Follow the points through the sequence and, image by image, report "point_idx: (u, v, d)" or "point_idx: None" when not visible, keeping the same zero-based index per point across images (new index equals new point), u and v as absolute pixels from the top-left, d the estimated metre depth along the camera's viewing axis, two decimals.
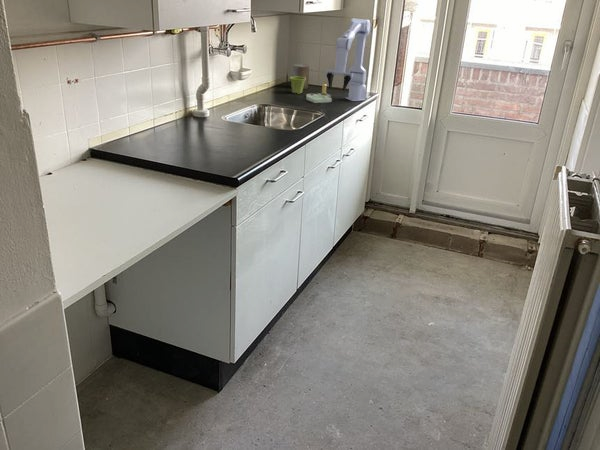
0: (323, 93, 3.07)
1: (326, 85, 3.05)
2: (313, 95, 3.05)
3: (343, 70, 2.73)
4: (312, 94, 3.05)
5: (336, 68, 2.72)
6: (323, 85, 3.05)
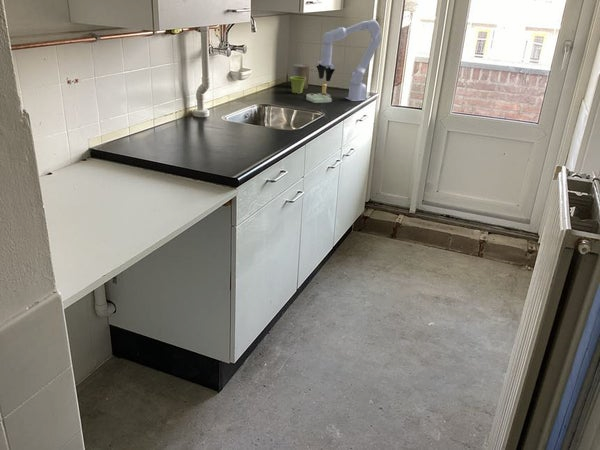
0: (323, 93, 3.07)
1: (326, 85, 3.05)
2: (313, 95, 3.05)
3: (326, 62, 2.98)
4: (312, 94, 3.05)
5: (321, 60, 3.00)
6: (323, 85, 3.05)
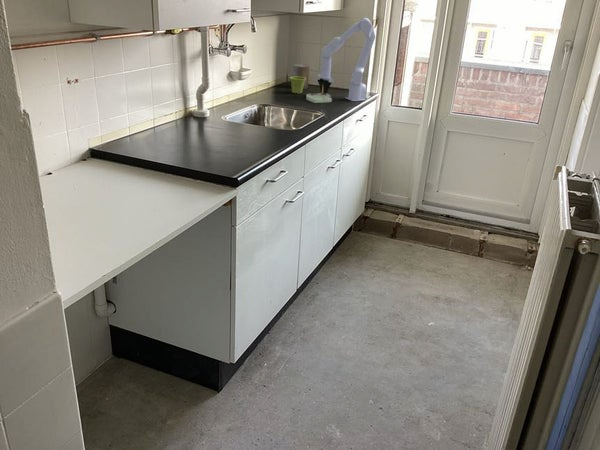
0: (323, 93, 3.07)
1: None
2: (313, 95, 3.05)
3: (325, 76, 3.01)
4: (312, 94, 3.05)
5: (320, 74, 3.03)
6: None
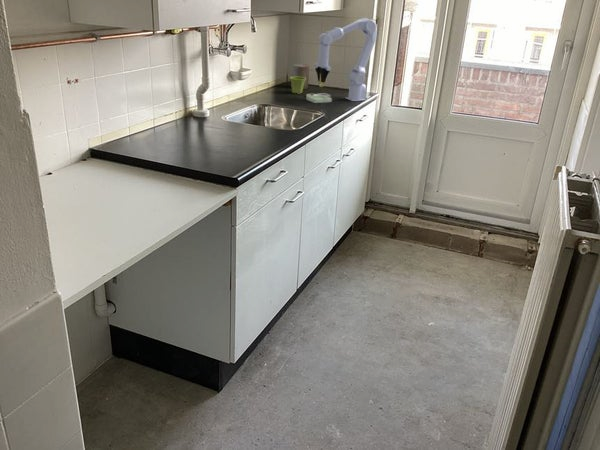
0: (321, 82, 2.97)
1: None
2: (313, 95, 3.05)
3: (323, 64, 2.91)
4: (312, 94, 3.05)
5: (318, 62, 2.93)
6: None
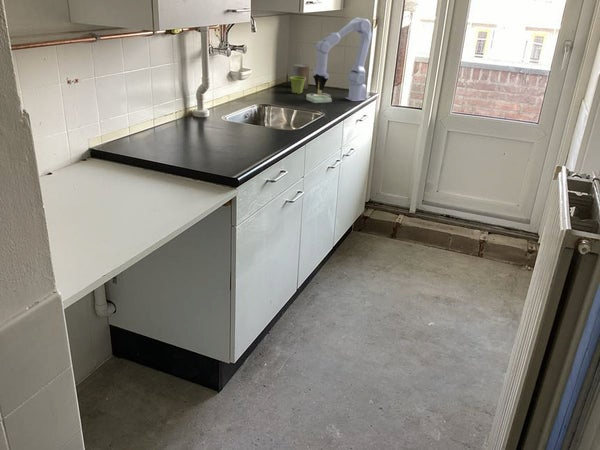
0: (319, 90, 2.95)
1: None
2: (313, 95, 3.05)
3: (321, 72, 2.89)
4: (312, 94, 3.05)
5: (316, 70, 2.91)
6: None
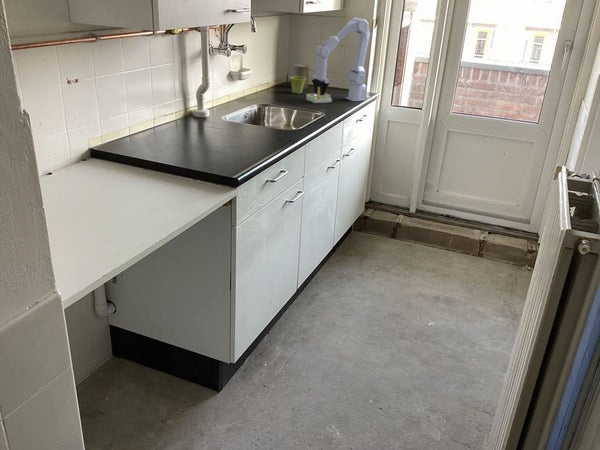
0: (319, 96, 2.97)
1: None
2: (313, 95, 3.05)
3: (320, 76, 2.90)
4: (312, 94, 3.05)
5: None
6: (319, 87, 2.95)
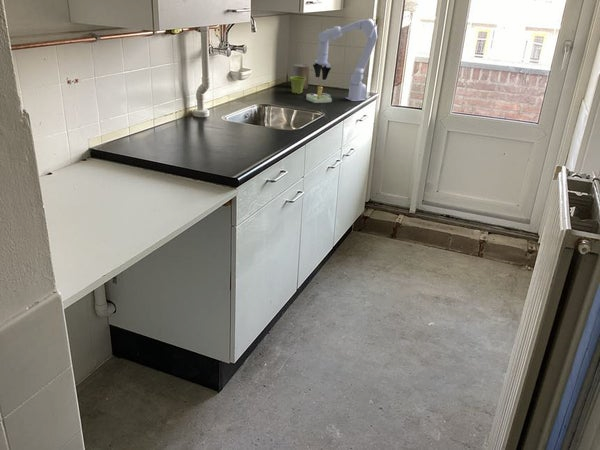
0: (319, 96, 2.97)
1: (322, 87, 2.95)
2: (313, 95, 3.05)
3: (322, 61, 3.01)
4: (312, 94, 3.05)
5: (317, 59, 3.03)
6: (319, 87, 2.95)
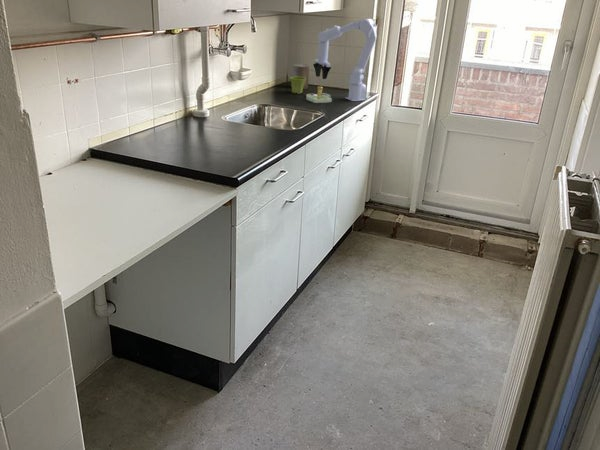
0: (319, 96, 2.97)
1: (322, 87, 2.95)
2: (313, 95, 3.05)
3: (322, 60, 3.03)
4: (312, 94, 3.05)
5: (317, 59, 3.05)
6: (319, 87, 2.95)
